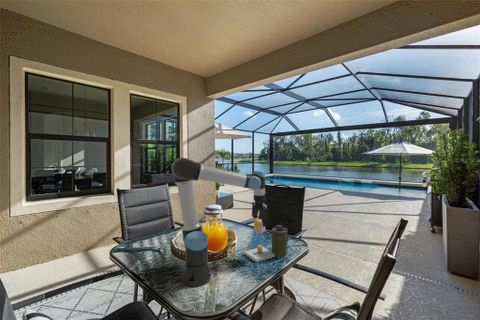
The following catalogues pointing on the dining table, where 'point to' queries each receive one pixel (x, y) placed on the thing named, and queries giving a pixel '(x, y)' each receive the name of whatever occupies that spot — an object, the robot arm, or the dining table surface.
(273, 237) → the canister
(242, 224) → the dining table surface
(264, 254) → the board
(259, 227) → the tan wooden cylinder
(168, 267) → the dining table surface
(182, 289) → the dining table surface
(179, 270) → the dining table surface
